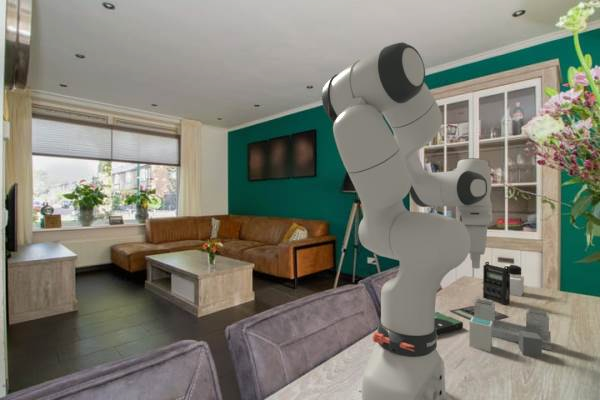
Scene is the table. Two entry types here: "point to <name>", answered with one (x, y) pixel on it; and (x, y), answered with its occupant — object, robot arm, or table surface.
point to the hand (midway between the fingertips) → (474, 263)
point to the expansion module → (480, 334)
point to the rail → (510, 331)
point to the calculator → (469, 313)
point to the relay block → (530, 344)
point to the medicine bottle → (516, 280)
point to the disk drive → (446, 324)
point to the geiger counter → (496, 283)
